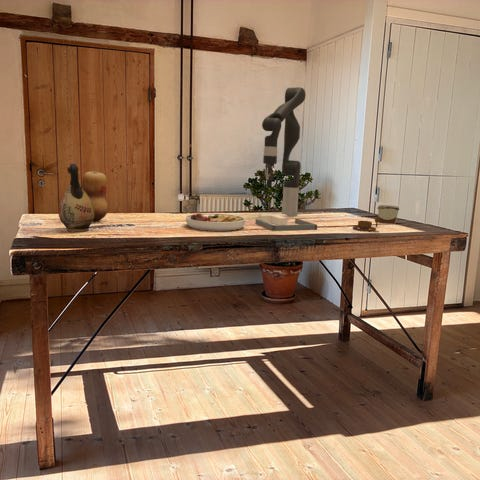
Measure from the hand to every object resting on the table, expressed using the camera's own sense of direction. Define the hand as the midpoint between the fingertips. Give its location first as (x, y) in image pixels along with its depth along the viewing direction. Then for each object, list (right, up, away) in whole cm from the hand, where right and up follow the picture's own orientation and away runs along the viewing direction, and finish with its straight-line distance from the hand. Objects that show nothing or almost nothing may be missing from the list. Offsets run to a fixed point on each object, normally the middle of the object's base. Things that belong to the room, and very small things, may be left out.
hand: (268, 186), depth 268 cm
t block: (+4, -21, -8) cm, 23 cm away
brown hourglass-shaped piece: (-90, -21, -26) cm, 96 cm away
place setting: (+52, -25, -17) cm, 61 cm away
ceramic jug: (-90, -26, -53) cm, 107 cm away
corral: (+8, -23, -18) cm, 31 cm away
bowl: (-28, -24, -28) cm, 46 cm away
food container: (+69, -20, +10) cm, 72 cm away
